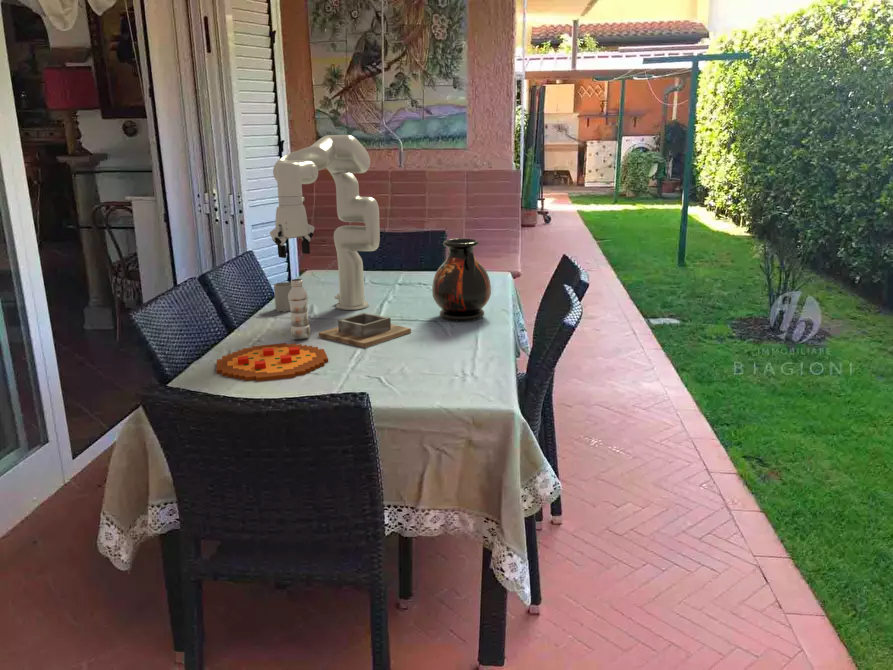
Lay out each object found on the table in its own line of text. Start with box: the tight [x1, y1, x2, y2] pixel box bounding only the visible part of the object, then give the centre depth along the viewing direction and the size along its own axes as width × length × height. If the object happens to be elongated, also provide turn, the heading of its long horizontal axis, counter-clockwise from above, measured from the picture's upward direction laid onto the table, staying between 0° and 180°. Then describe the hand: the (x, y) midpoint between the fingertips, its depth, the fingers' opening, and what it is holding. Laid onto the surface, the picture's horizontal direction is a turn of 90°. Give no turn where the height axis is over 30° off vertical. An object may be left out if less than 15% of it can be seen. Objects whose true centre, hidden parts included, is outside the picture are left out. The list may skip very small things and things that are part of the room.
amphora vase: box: [431, 238, 492, 323], centre depth 264 cm, size 22×22×28 cm
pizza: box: [216, 342, 329, 382], centre depth 219 cm, size 32×32×3 cm
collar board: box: [317, 312, 412, 349], centre depth 246 cm, size 22×22×6 cm
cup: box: [273, 281, 292, 313], centre depth 282 cm, size 8×8×10 cm
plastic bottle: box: [288, 278, 312, 340], centre depth 240 cm, size 6×7×20 cm
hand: (294, 255), depth 235 cm, fingers open, 9 cm apart
